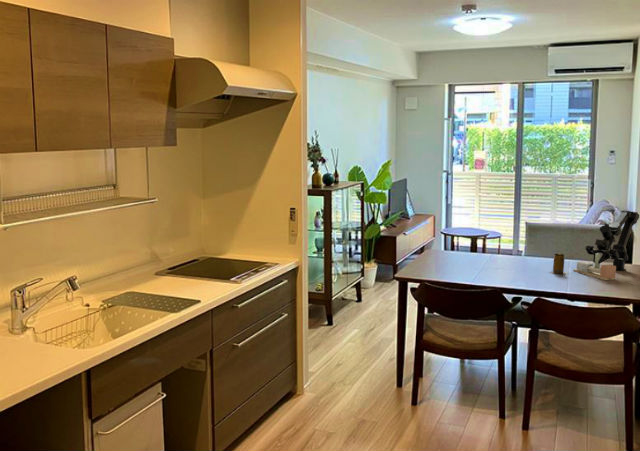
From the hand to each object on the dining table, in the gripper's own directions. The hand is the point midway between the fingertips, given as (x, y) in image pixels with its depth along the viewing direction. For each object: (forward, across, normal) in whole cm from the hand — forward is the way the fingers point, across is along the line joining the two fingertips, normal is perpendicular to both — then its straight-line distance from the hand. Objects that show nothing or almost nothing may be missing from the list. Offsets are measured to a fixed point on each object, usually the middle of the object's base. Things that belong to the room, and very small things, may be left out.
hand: (596, 262), depth 376 cm
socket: (+6, +8, +4) cm, 11 cm away
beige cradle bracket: (+3, -1, +6) cm, 7 cm away
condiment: (+14, -17, -2) cm, 22 cm away
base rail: (+4, -2, +7) cm, 9 cm away
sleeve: (+2, -9, +8) cm, 12 cm away
